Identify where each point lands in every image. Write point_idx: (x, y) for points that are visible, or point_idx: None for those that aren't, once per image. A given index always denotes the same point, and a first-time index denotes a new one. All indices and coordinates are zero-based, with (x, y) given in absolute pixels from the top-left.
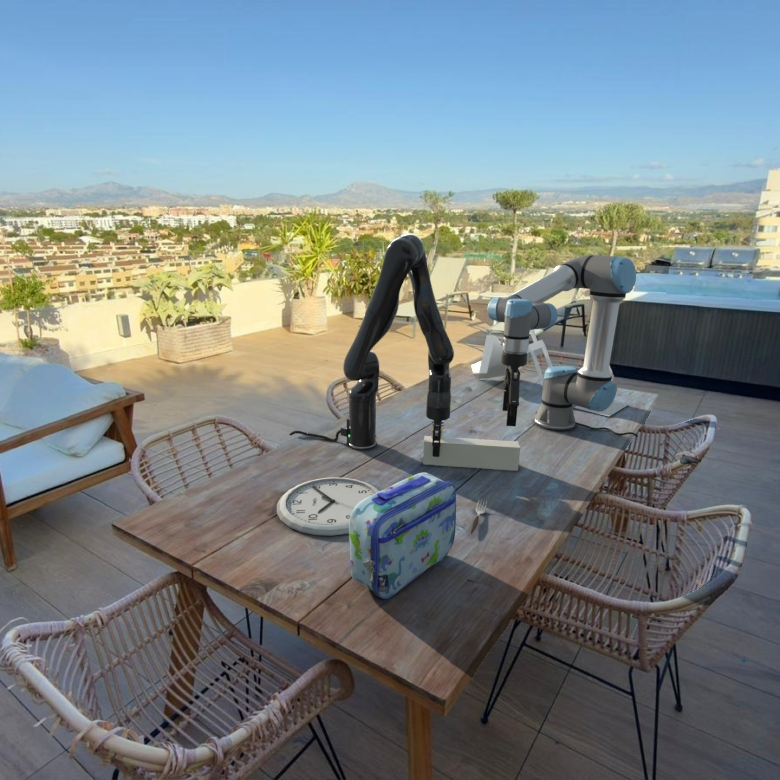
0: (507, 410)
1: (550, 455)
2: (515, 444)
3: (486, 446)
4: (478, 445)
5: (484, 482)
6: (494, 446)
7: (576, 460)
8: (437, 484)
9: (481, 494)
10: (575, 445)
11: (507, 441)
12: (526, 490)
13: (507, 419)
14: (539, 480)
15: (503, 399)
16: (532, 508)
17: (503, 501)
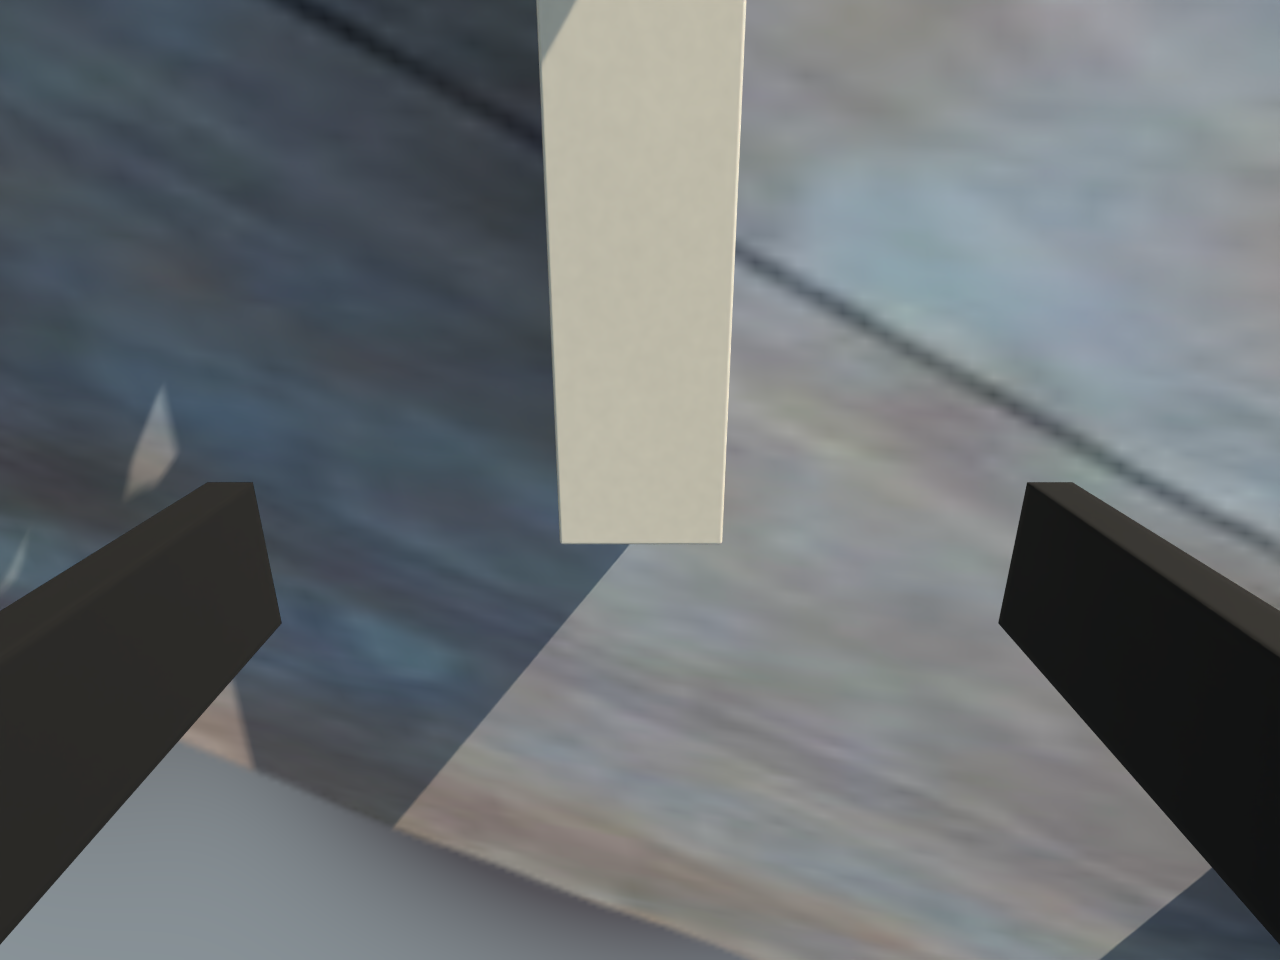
0: (1018, 571)
1: (880, 706)
2: (635, 508)
3: (545, 180)
4: (539, 69)
5: (309, 172)
6: (549, 278)
7: (808, 834)
8: None
9: (87, 134)
10: (1051, 869)
11: (705, 436)
12: (278, 483)
13: (128, 542)
14: (458, 584)
15: (1216, 598)
16: (35, 490)
17: (47, 306)
